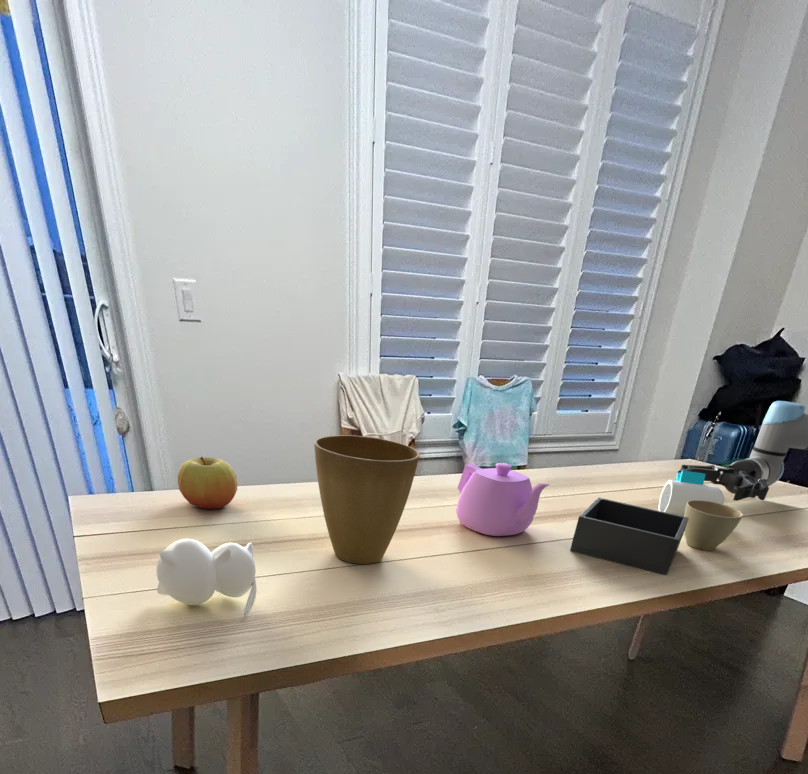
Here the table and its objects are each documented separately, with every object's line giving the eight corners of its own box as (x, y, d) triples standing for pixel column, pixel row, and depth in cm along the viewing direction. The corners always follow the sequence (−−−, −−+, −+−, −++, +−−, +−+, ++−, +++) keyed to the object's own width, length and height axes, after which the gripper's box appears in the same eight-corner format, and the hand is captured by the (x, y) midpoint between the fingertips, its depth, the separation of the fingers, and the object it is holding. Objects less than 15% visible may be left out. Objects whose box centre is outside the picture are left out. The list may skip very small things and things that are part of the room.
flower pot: (669, 546, 119) (683, 507, 115) (677, 533, 126) (690, 496, 122) (725, 559, 115) (741, 520, 111) (729, 545, 123) (744, 508, 119)
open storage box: (677, 549, 117) (689, 517, 114) (666, 575, 105) (679, 540, 102) (589, 528, 122) (598, 497, 119) (569, 550, 110) (578, 516, 107)
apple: (174, 497, 112) (169, 449, 107) (229, 495, 116) (227, 449, 111) (187, 515, 105) (182, 465, 100) (245, 512, 109) (243, 463, 105)
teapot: (510, 551, 107) (524, 484, 100) (432, 515, 119) (440, 453, 112) (559, 540, 114) (575, 477, 108) (481, 508, 126) (491, 449, 120)
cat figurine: (253, 520, 78) (151, 523, 72) (277, 592, 75) (172, 601, 69) (242, 563, 85) (148, 569, 80) (263, 631, 82) (167, 641, 77)
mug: (735, 474, 129) (677, 467, 129) (725, 520, 131) (667, 513, 131) (711, 484, 141) (657, 477, 141) (702, 527, 142) (649, 519, 143)
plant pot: (373, 583, 90) (382, 465, 81) (291, 554, 95) (291, 441, 86) (425, 556, 101) (438, 450, 92) (349, 532, 106) (354, 429, 97)
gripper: (791, 506, 146) (756, 519, 133) (690, 478, 160) (649, 487, 147) (806, 473, 142) (771, 482, 129) (701, 446, 156) (660, 453, 143)
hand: (706, 485), depth 138 cm, fingers open, 13 cm apart
